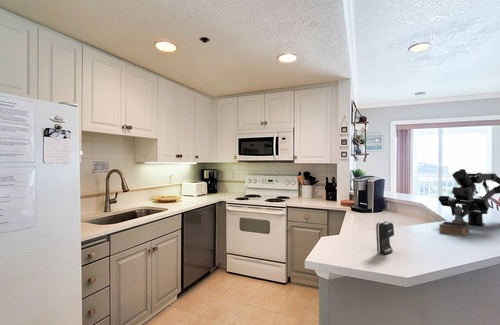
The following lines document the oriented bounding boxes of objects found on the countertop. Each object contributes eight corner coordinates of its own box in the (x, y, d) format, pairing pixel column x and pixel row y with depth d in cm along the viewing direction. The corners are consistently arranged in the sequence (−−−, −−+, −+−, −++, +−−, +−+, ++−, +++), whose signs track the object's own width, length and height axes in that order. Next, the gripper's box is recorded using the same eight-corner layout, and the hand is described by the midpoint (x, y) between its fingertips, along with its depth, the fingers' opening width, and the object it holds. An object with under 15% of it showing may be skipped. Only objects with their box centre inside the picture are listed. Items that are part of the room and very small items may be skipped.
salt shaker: (470, 230, 117) (469, 205, 117) (458, 230, 117) (457, 205, 118) (460, 227, 123) (459, 203, 123) (448, 227, 123) (447, 203, 123)
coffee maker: (387, 256, 87) (386, 224, 88) (376, 253, 90) (375, 222, 91) (396, 251, 91) (394, 221, 92) (385, 249, 95) (384, 219, 95)
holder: (445, 229, 121) (445, 221, 121) (469, 232, 114) (468, 224, 114) (439, 232, 116) (439, 224, 116) (464, 236, 108) (464, 227, 108)
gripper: (439, 180, 131) (429, 203, 125) (485, 181, 115) (477, 208, 109) (446, 194, 134) (437, 216, 129) (492, 197, 118) (484, 223, 113)
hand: (457, 215), depth 120 cm, fingers closed on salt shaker, 4 cm apart
